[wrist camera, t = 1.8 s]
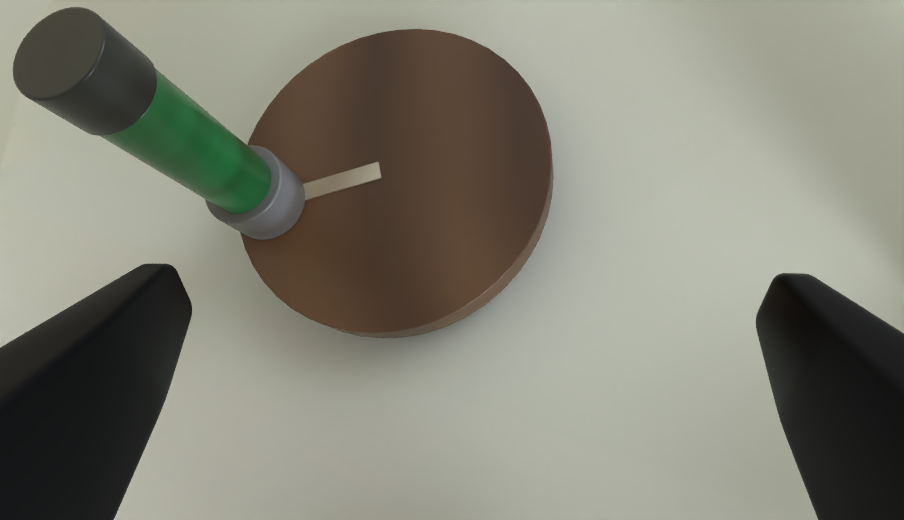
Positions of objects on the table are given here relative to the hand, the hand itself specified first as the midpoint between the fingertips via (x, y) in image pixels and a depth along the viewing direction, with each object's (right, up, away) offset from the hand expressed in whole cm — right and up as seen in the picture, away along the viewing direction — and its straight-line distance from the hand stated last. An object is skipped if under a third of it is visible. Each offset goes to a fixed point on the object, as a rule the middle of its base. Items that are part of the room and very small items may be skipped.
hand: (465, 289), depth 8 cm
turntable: (-3, +4, +15) cm, 15 cm away
